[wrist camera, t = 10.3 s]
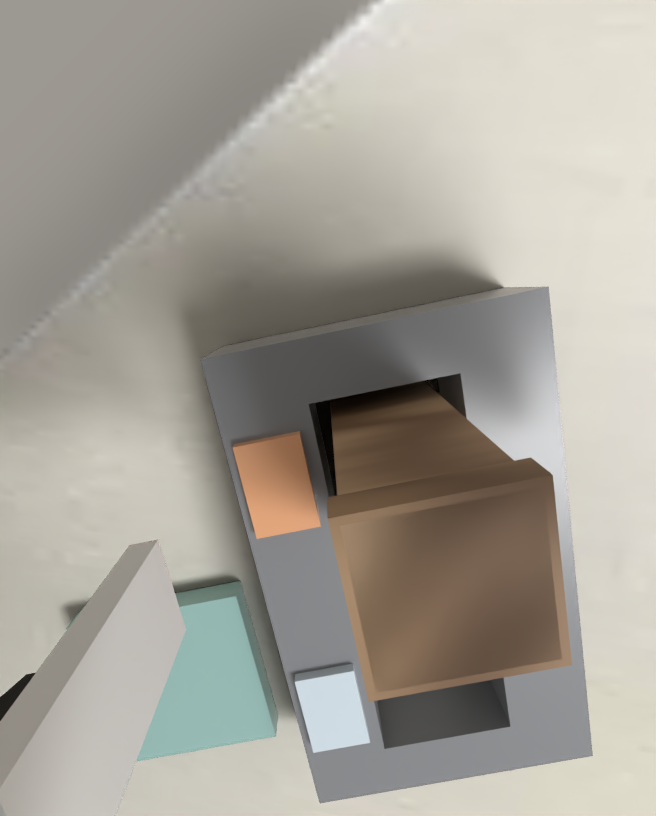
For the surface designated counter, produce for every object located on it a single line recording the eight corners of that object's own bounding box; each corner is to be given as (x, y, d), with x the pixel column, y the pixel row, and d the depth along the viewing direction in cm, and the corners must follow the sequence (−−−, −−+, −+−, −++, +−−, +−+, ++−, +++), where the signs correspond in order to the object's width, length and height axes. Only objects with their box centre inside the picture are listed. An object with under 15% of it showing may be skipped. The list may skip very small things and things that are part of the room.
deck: (128, 742, 25) (119, 764, 24) (79, 611, 23) (66, 628, 22) (277, 715, 25) (275, 736, 24) (240, 580, 23) (235, 596, 22)
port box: (319, 724, 25) (319, 812, 21) (223, 346, 21) (197, 361, 16) (550, 682, 25) (597, 764, 21) (504, 287, 20) (554, 286, 16)
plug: (343, 485, 22) (368, 702, 10) (324, 392, 21) (327, 519, 9) (438, 466, 22) (571, 665, 10) (423, 372, 21) (552, 474, 9)
